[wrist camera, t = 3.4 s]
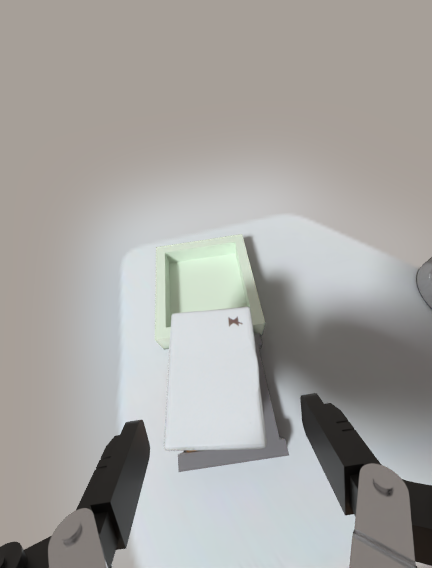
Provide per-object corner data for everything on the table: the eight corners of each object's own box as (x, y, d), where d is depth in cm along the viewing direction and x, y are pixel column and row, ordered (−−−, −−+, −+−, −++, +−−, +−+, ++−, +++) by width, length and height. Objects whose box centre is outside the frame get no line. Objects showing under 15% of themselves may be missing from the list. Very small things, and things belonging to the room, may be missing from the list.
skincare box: (201, 362, 22) (170, 308, 12) (245, 359, 22) (252, 302, 12) (201, 437, 19) (159, 453, 9) (253, 435, 19) (272, 449, 8)
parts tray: (241, 250, 29) (242, 234, 26) (262, 334, 23) (265, 323, 20) (163, 262, 29) (156, 247, 26) (164, 349, 23) (154, 340, 20)
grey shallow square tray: (258, 338, 23) (259, 332, 21) (284, 452, 18) (289, 455, 16) (178, 351, 23) (174, 345, 21) (183, 467, 18) (178, 471, 16)
